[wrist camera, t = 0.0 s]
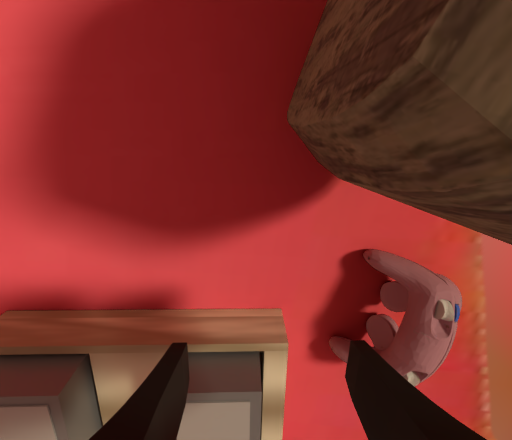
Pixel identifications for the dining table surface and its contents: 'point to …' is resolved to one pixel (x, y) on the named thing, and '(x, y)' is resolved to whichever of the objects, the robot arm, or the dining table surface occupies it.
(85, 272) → the dining table surface
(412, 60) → the tabletop clock
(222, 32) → the dining table surface
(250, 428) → the key grey
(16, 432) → the brown block
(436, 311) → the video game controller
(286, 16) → the dining table surface
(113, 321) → the switch panel
